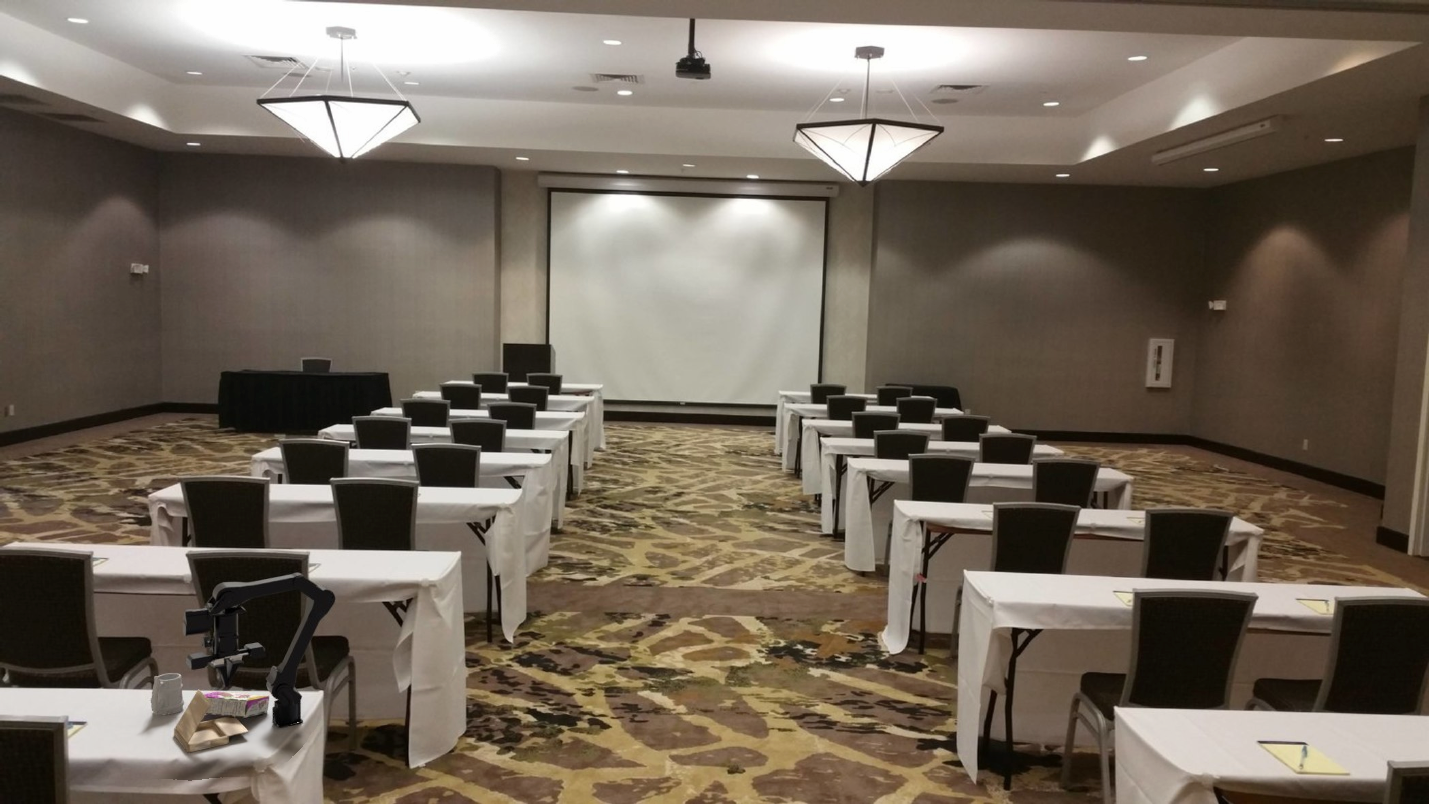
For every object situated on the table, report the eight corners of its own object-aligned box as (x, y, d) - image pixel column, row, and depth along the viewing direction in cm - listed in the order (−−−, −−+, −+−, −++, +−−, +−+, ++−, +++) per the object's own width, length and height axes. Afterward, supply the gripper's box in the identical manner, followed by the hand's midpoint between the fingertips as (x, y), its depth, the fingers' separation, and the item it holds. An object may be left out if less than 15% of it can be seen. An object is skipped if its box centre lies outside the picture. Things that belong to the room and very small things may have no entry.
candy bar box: (217, 690, 298) (270, 695, 296) (215, 708, 298) (267, 713, 295) (193, 694, 288) (248, 700, 285) (190, 713, 287) (245, 718, 284)
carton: (232, 722, 288) (232, 715, 288) (249, 739, 277) (249, 731, 276) (173, 735, 278) (173, 727, 278) (188, 753, 267) (188, 745, 267)
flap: (175, 728, 277) (199, 689, 280) (188, 743, 268) (212, 703, 271) (175, 727, 277) (198, 689, 280) (187, 742, 268) (211, 702, 271)
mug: (189, 705, 299) (189, 665, 298) (166, 721, 287) (165, 679, 286) (163, 704, 299) (163, 664, 298) (139, 720, 287) (138, 678, 286)
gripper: (253, 617, 290) (253, 671, 291) (180, 629, 278) (181, 685, 279) (265, 627, 281) (266, 683, 283) (191, 639, 269) (192, 697, 270)
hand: (226, 686), depth 279 cm, fingers closed
